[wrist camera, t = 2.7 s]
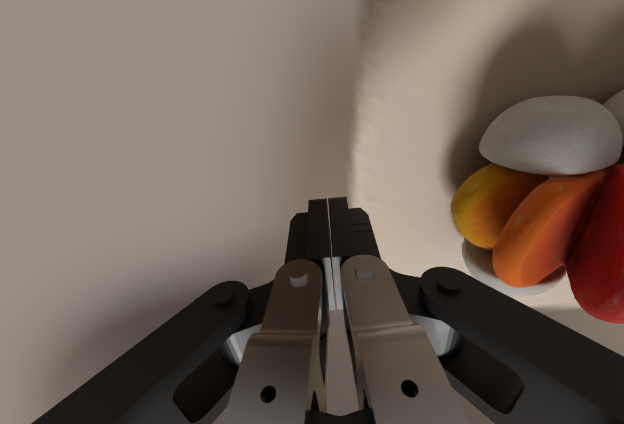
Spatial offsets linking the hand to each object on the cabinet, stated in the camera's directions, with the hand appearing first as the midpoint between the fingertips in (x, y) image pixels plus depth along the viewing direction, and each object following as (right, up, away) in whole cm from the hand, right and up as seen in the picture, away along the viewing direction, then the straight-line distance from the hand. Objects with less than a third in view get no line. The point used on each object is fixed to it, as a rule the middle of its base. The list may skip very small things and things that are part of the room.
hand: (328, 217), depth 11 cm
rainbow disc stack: (+10, +2, +2) cm, 11 cm away
